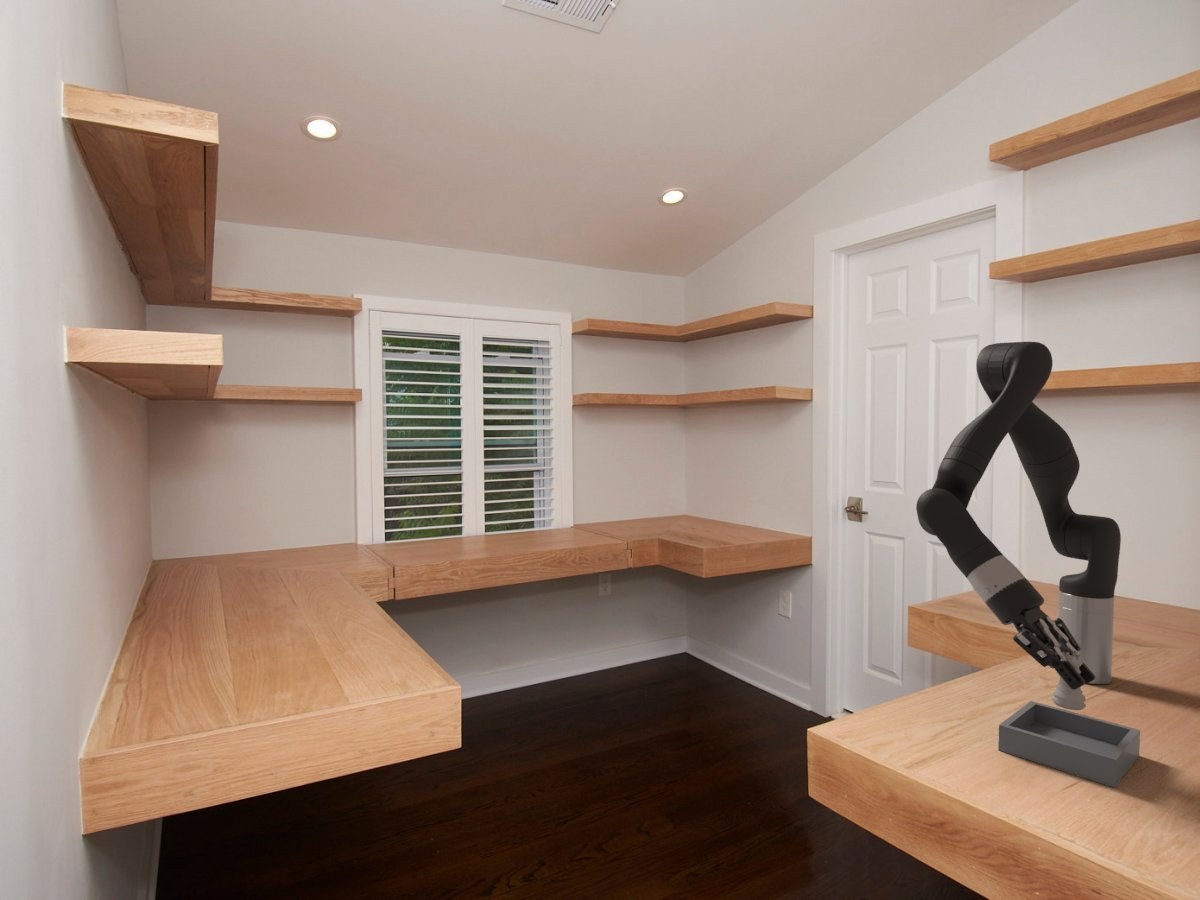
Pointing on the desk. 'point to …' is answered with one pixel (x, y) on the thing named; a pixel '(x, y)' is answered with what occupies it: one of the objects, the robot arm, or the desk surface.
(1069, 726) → the tray
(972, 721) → the desk surface
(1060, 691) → the rook chess piece
